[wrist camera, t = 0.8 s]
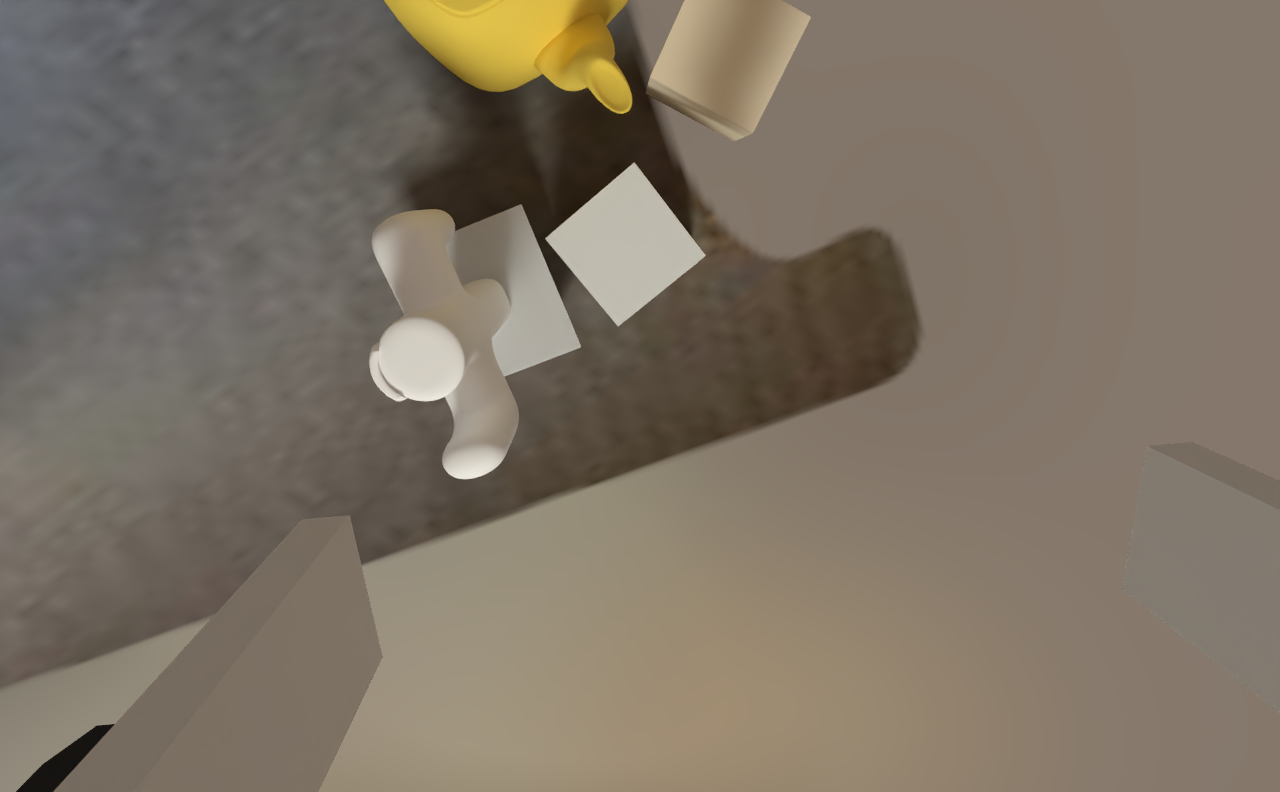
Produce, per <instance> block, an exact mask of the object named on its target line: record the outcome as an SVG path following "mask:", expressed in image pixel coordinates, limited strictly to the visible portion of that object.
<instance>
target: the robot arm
mask: <svg viewBox="0 0 1280 792" xmlns="http://www.w3.org/2000/svg"><path fill="white" fill-rule="evenodd" d="M1122 590H1124V591H1125V592H1126V593H1128V594H1129V595H1130V596H1131V597H1133V598H1134V599H1135V600H1136V601H1138V602H1139V603H1140V604H1142V605H1143V606H1144V607H1145V608H1147V609H1148V610H1149V611H1151V612H1152V613H1153V614H1154V615H1156V616H1157V617H1158V618H1159V619H1161V620H1162V621H1163V622H1165V623H1166V624H1167V625H1168V626H1170V627H1171V628H1172V629H1173V630H1175V631H1176V632H1177V633H1178V634H1180V635H1181V636H1182V637H1184V638H1185V639H1186V640H1187V641H1189V642H1190V643H1191V644H1192V645H1194V646H1195V647H1196V648H1197V649H1199V650H1200V651H1201V652H1203V653H1204V654H1205V655H1206V656H1208V657H1209V658H1210V659H1211V660H1213V661H1214V662H1215V663H1217V664H1218V665H1219V666H1220V667H1222V668H1223V669H1224V670H1226V671H1227V672H1228V673H1229V674H1231V675H1232V676H1233V677H1234V678H1236V679H1237V680H1238V681H1240V682H1241V683H1242V684H1243V685H1245V686H1246V687H1247V688H1248V689H1250V690H1251V691H1252V692H1253V693H1255V694H1256V695H1257V696H1259V697H1260V698H1261V699H1262V700H1264V701H1265V702H1266V703H1267V704H1269V705H1270V706H1271V707H1272V708H1274V709H1275V710H1276V711H1278V712H1279V713H1280V480H1277V479H1275V478H1273V477H1270V476H1268V475H1266V474H1264V473H1261V472H1259V471H1257V470H1255V469H1252V468H1250V467H1248V466H1246V465H1243V464H1241V463H1239V462H1236V461H1234V460H1232V459H1230V458H1227V457H1225V456H1223V455H1221V454H1218V453H1216V452H1213V451H1211V450H1209V449H1207V448H1205V447H1202V446H1200V445H1198V444H1196V443H1193V442H1187V443H1175V444H1163V445H1151V446H1147V448H1146V454H1145V459H1144V465H1143V471H1142V476H1141V483H1140V488H1139V494H1138V500H1137V505H1136V511H1135V517H1134V522H1133V528H1132V534H1131V540H1130V545H1129V551H1128V556H1127V562H1126V568H1125V573H1124V579H1123V585H1122ZM381 659H382V653H381V648H380V644H379V640H378V635H377V631H376V627H375V623H374V618H373V614H372V610H371V605H370V601H369V597H368V592H367V588H366V584H365V579H364V575H363V571H362V567H361V562H360V558H359V554H358V549H357V545H356V541H355V536H354V532H353V528H352V524H351V519H350V515H349V516H337V517H326V518H314V519H303V520H301V521H300V522H299V523H298V524H297V525H296V526H295V528H294V529H293V530H292V531H291V532H290V533H289V534H288V535H287V536H286V537H285V538H284V540H283V541H282V542H281V543H280V544H279V545H278V546H277V547H276V548H275V549H274V551H273V552H272V553H271V554H270V555H269V556H268V557H267V558H266V559H265V560H264V561H263V563H262V564H261V565H260V566H259V567H258V568H257V569H256V570H255V571H254V572H253V574H252V575H251V576H250V577H249V578H248V579H247V580H246V581H245V582H244V583H243V584H242V586H241V587H240V588H239V589H238V590H237V591H236V592H235V593H234V594H233V595H232V597H231V598H230V599H229V600H228V601H227V602H226V603H225V604H224V605H223V606H222V607H221V609H220V610H219V611H218V612H217V613H216V614H215V615H214V616H213V617H212V618H211V620H210V621H209V622H208V623H207V624H206V625H205V626H204V627H203V628H202V629H201V631H200V632H199V633H198V634H197V635H196V636H195V637H194V638H193V639H192V640H191V641H190V643H189V644H188V645H187V646H186V647H185V648H184V649H183V650H182V651H181V652H180V653H179V655H178V656H177V657H176V658H175V659H174V660H173V661H172V663H170V664H169V666H168V667H167V668H166V669H165V670H164V671H163V672H162V673H161V674H160V675H159V677H158V678H157V679H156V680H155V681H154V682H153V683H152V684H151V685H150V686H149V687H148V689H147V690H146V691H145V692H144V693H143V694H142V695H141V696H140V697H139V699H137V701H136V702H135V703H134V704H133V705H132V706H131V707H130V708H129V709H128V710H127V712H126V713H125V714H124V715H123V716H122V717H121V718H120V719H119V720H118V721H117V723H116V724H111V725H101V726H96V727H95V728H93V729H92V730H90V731H89V732H87V733H86V734H85V735H83V736H82V737H81V738H79V739H78V740H76V741H75V742H73V743H72V744H71V745H69V746H68V747H67V748H65V749H64V750H62V751H61V752H60V753H58V754H57V755H55V756H54V757H52V758H51V759H50V760H48V761H47V762H45V763H44V764H43V765H42V766H41V767H40V768H39V769H38V770H37V771H36V772H35V773H34V774H33V775H32V776H31V777H30V778H29V779H28V780H27V781H26V782H25V783H24V784H23V785H22V786H21V787H20V788H19V789H18V790H17V791H16V792H318V791H319V789H320V787H321V785H322V782H323V781H324V778H325V777H326V775H327V772H328V770H329V768H330V766H331V764H332V762H333V760H334V758H335V756H336V754H337V751H338V749H339V747H340V745H341V743H342V741H343V739H344V737H345V735H346V732H347V730H348V728H349V726H350V724H351V722H352V720H353V718H354V716H355V714H356V712H357V709H358V707H359V705H360V703H361V701H362V699H363V697H364V695H365V693H366V691H367V689H368V686H369V684H370V682H371V680H372V678H373V675H374V674H375V672H376V670H377V667H378V665H379V663H380V661H381Z"/></svg>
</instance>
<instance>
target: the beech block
mask: <svg viewBox="0 0 1280 792" xmlns="http://www.w3.org/2000/svg"><path fill="white" fill-rule="evenodd" d="M810 18H811V17H810V16H808V15H806V14H805V13H803V12H801V11H800V10H798V9H796V8H794V7H793V6H791V5H789V4H788V3H786V2H784V1H782V0H685V1H684V2H683V5H682V7H681V9H680V11H679V14H678V16H677V18H676V20H675V22H674V25H673V27H672V29H671V31H670V33H669V36H668V38H667V40H666V42H665V44H664V47H663V49H662V51H661V54H660V56H659V58H658V60H657V62H656V65H655V67H654V69H653V71H652V73H651V76H650V78H649V82H648V86H647V90H646V93H645V94H647V95H649V96H651V97H653V98H655V99H656V100H658V101H660V102H662V103H663V104H665V105H667V106H669V107H671V108H673V109H675V110H677V111H678V112H680V113H682V114H684V115H686V116H688V117H690V118H691V119H693V120H695V121H697V122H699V123H701V124H703V125H704V126H706V127H708V128H710V129H712V130H714V131H715V132H717V133H719V134H721V135H723V136H725V137H727V138H728V139H730V140H732V141H736V140H738V139H741V138H742V137H745V136H747V135H750V134H752V133H753V132H754V130H755V128H756V126H757V124H758V122H759V120H760V118H761V116H762V114H763V112H764V110H765V108H766V106H767V104H768V102H769V100H770V98H771V96H772V94H773V92H774V90H775V88H776V86H777V84H778V82H779V80H780V78H781V76H782V74H783V72H784V70H785V68H786V66H787V64H788V62H789V60H790V58H791V56H792V54H793V52H794V50H795V48H796V46H797V44H798V42H799V40H800V38H801V36H802V34H803V32H804V30H805V28H806V26H807V24H808V22H809V20H810Z"/></svg>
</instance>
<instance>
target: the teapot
mask: <svg viewBox="0 0 1280 792" xmlns="http://www.w3.org/2000/svg"><path fill="white" fill-rule="evenodd" d="M384 1H385V3H386V4H387V5H388V7H389V8H390V9H391V11H392V12H393V13H394V15H395V16H396V17H397V18H398V20H399V21H400V22H401V24H402V25H403V26H404V27H405V28H406V29H407V30H408V32H409V33H410V34H411V35H412V36H413V37H414V38H415V39H416V40H417V41H418V42H419V43H420V44H421V45H422V46H423V47H424V48H425V49H426V50H427V51H428V52H429V53H430V54H431V55H432V56H434V57H435V58H436V59H437V60H438V61H439V62H440V63H442V64H443V65H444V66H445V67H446V68H447V69H448V70H450V71H451V72H452V73H454V74H455V75H457V76H458V77H459V78H461V79H462V80H463V81H465V82H467V83H469V84H470V85H472V86H474V87H476V88H478V89H481V90H486V91H490V92H503V91H507V90H511V89H515V88H517V87H519V86H521V85H523V84H525V83H527V82H529V81H531V80H533V79H535V78H537V77H539V76H540V75H542V74H543V75H544V76H546V77H547V78H548V79H549V80H550V81H551V82H552V83H553V84H554V85H556V86H557V87H559V88H561V89H564V90H567V91H578V90H582V89H585V88H587V87H588V88H589V90H590V91H591V92H592V93H593V94H594V96H595V97H596V98H597V99H598V100H599V101H600V102H601V103H602V104H603V105H604V106H606V107H607V108H608V109H610V110H611V111H613V112H616V113H621V114H624V113H626V112H628V111H629V110H630V108H631V106H632V94H631V90H630V87H629V85H628V82H627V80H626V78H625V76H624V75H623V73H622V71H621V70H620V68H619V67H618V65H617V64H616V63H615V61H614V60H613V59H614V55H615V47H614V42H613V39H612V36H611V34H610V32H609V30H608V28H607V26H606V25H607V24H608V23H609V22H610V21H611V20H612V19H613V18H614V17H615V16H616V15H617V14H618V13H619V12H620V10H621V9H622V8H623V7H624V6H625V5H626V3H627V2H628V0H384Z"/></svg>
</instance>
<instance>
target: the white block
mask: <svg viewBox="0 0 1280 792" xmlns="http://www.w3.org/2000/svg"><path fill="white" fill-rule="evenodd" d="M545 239H546V240H547V242H548V243H549V244H550V245H551V246H552V248H553V249H554V250H555V251H556V252H557V254H558V255H559V256H560V257H561V258H562V260H563V261H564V262H565V263H566V264H567V266H568V267H569V268H570V269H571V270H572V272H573V273H574V274H575V275H576V276H577V278H578V279H579V280H580V281H581V282H582V284H583V285H584V286H585V287H586V288H587V290H588V291H589V292H590V293H591V294H592V296H593V297H594V298H595V299H596V300H597V302H598V303H599V304H600V305H601V307H602V308H603V309H604V310H605V311H606V313H607V314H608V315H609V316H610V317H611V319H612V320H613V321H614V322H615V323H616V325H617V326H619V325H621V324H622V323H623V322H624V321H625V320H627V319H628V318H629V317H630V316H632V315H633V314H634V313H635V312H637V311H638V310H639V309H640V308H642V307H643V306H644V305H645V304H647V303H648V302H649V301H650V300H652V299H653V298H654V297H655V296H656V295H658V294H659V293H660V292H661V291H663V290H664V289H665V288H666V287H668V286H669V285H670V284H671V283H673V282H674V281H675V280H676V279H678V278H679V277H680V276H681V275H682V274H684V273H685V272H686V271H687V270H689V269H690V268H691V267H692V266H694V265H695V264H696V263H697V262H699V261H700V260H701V259H702V258H704V257H705V254H704V253H703V252H702V250H701V249H700V248H699V246H698V245H697V244H696V242H695V241H694V240H693V239H692V237H691V236H690V235H689V233H688V232H687V231H686V229H685V228H684V227H683V225H682V224H681V223H680V222H679V220H678V219H677V218H676V216H675V215H674V214H673V212H672V211H671V210H670V208H669V207H668V206H667V204H666V203H665V202H664V201H663V199H662V198H661V197H660V195H659V194H658V193H657V191H656V190H655V189H654V187H653V186H652V185H651V183H650V182H649V181H648V180H647V178H646V177H645V176H644V174H643V173H642V172H641V170H640V169H639V168H638V166H637V165H636V164H635V162H634V163H633V164H632V165H631V166H629V167H628V168H627V169H626V170H625V171H624V172H622V173H621V174H620V175H619V176H618V177H616V178H615V179H614V180H613V181H612V182H611V183H609V184H608V185H607V186H606V187H605V188H604V189H602V190H601V191H600V192H599V193H598V194H597V195H595V196H594V197H593V198H592V199H591V200H590V201H588V202H587V203H586V204H585V205H584V206H583V207H581V208H580V209H579V210H578V211H577V212H576V213H574V214H573V215H572V216H571V217H570V218H569V219H567V220H566V221H565V222H564V223H563V224H562V225H560V226H559V227H558V228H557V229H556V230H554V231H553V232H552V233H551V234H550V235H549V236H547V237H546V238H545Z"/></svg>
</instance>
